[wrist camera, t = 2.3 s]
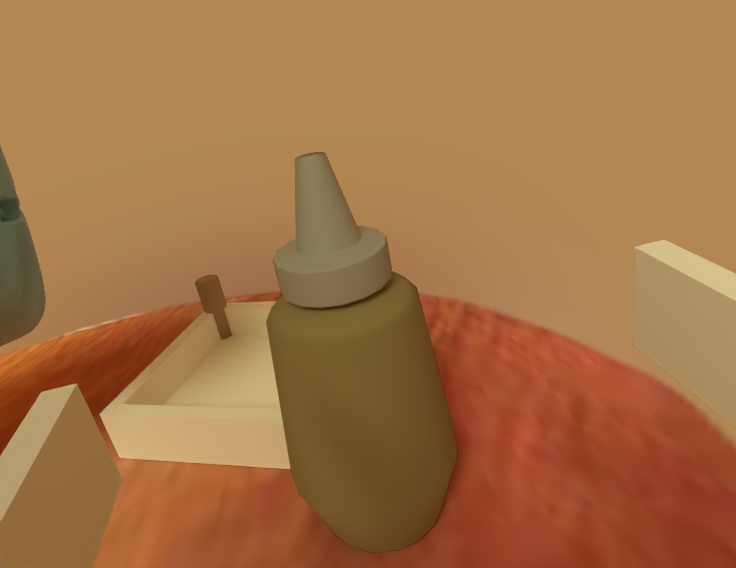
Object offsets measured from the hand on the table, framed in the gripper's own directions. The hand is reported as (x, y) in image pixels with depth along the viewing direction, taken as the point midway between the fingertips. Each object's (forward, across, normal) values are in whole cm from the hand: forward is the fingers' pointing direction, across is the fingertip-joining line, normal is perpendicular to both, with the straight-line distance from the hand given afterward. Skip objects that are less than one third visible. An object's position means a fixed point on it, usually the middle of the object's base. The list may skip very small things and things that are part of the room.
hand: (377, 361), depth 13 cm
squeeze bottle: (+10, 0, -15) cm, 18 cm away
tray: (+23, -6, -15) cm, 28 cm away
